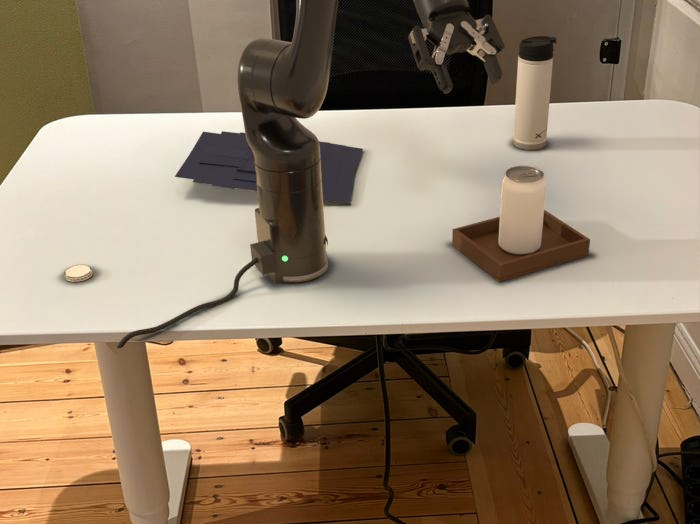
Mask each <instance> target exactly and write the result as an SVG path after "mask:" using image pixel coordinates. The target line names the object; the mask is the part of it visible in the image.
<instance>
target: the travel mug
mask: <svg viewBox="0 0 700 524" xmlns="http://www.w3.org/2000/svg"><path fill="white" fill-rule="evenodd" d="M556 44H557V37H556V36H548V35H538V36H536V35H535V36H530V37H527V38H523V39H522V40H521V41H520V42H519V45H518V56H517V70H516V71H517V73H516V87H515V89H516V90H515V102H514V103H515V104H514V105H515V106H514V121H513V136H512V144H513V145H514V146H515V147H516V148H518V149H519V150H525V151H537V150H541V149H543V148H544V147H545V146H546V145H547V137H548V125H549V114H550V100H551V90H552V88H551V87H552V75H553V65H554V45H556Z"/></svg>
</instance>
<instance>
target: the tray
mask: <svg viewBox="0 0 700 524" xmlns="http://www.w3.org/2000/svg"><path fill="white" fill-rule="evenodd" d="M499 224H500V216H496V217H493V218H488V219H486V220H481V221H478V222H474V223H471V224H466V225H464V226H458V227H455V228H452V240H451V246H453V248H455V249H456V250H458V251H459V252H460V253H462V254H463V255H464V256H465V257H467V259H469V260H470V261H472V262H473V263H474V264H476V265H477V266H478V267H479V268H480V269H482V270H483V271H484V272H486V273H487V274H489V276H491V278H493V279H495V280H496V281H497V282H498V283H501V282H504V281H509V280H512V279H516V278H519V277H521V276H525V275H528V274H531V273H536V272H538V271H541V270H545V269H548V268H551V267H554V266H558V265H561V264H565V263H568V262H571V261H576V260H578V259H582V258H585V257H588V256H589V253H590V246H591V245H590V244H591V239H590V238H589V237H588V236H586V235H584V234H583V233H581V232H580V231H579V230H576V229H575V228H574V227H572V226H570V225H569V224H567V223H566V222H564V221H563V220H561V219H560V218H558V217H557V216H555V215H553V214H552V213H550V212H549V211H547V210H546V209H544V216H543V227H542V238H541V246H540V248H539V249H538V250H537V251H536V252H535V253H532V254H529V255H513V254H509V253H507V252H505V251H504V250H502V249H501V247H500V246H499Z"/></svg>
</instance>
